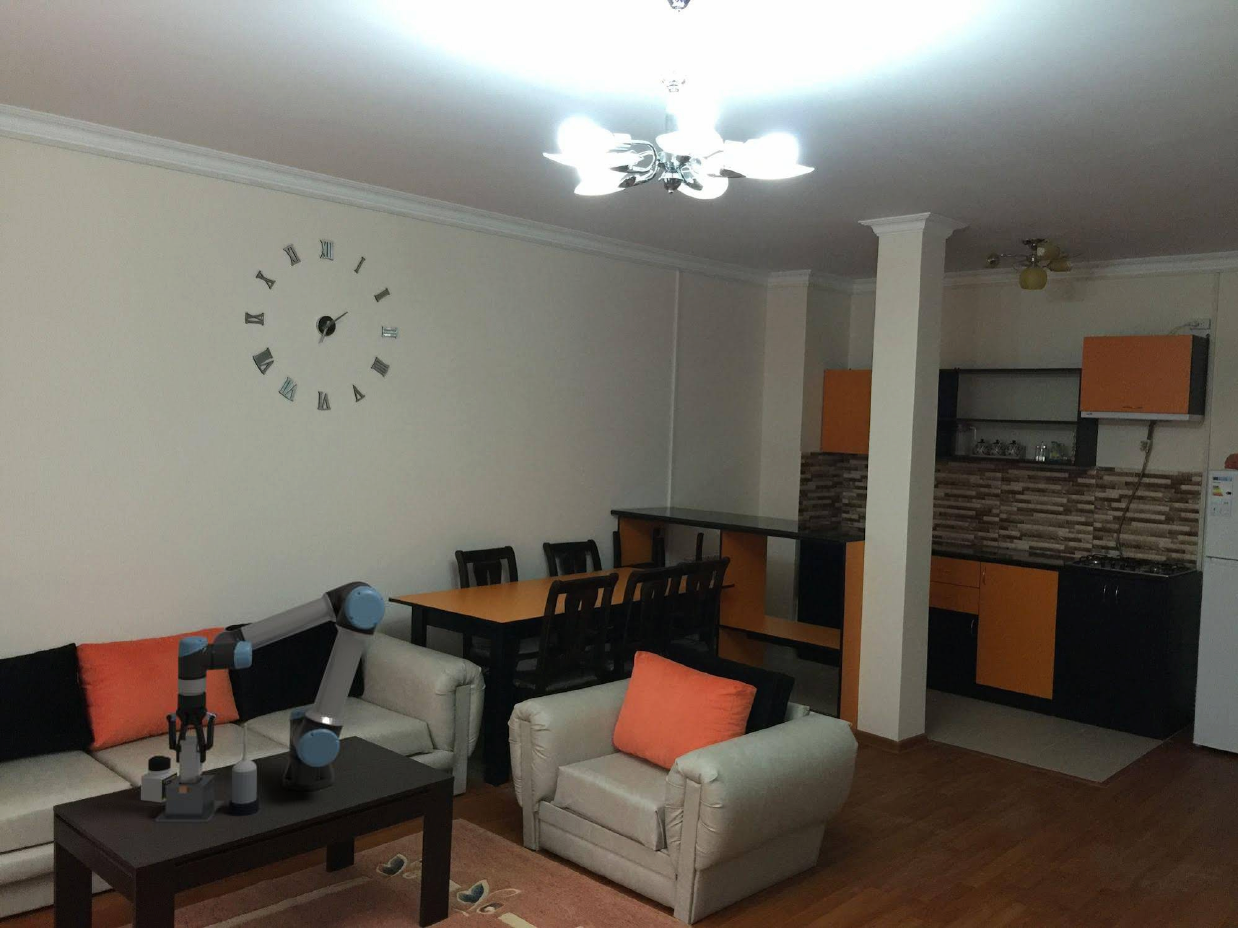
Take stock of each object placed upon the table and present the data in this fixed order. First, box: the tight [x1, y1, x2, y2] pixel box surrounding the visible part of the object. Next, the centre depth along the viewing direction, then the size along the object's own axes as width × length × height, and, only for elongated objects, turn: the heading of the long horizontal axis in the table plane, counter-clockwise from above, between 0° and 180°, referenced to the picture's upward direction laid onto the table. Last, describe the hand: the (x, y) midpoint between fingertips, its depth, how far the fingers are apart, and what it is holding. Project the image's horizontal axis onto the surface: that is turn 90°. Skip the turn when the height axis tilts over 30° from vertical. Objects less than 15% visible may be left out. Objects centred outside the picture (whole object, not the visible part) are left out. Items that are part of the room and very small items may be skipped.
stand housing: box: [154, 774, 225, 823], centre depth 291 cm, size 14×14×9 cm
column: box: [180, 735, 201, 785], centre depth 291 cm, size 5×5×21 cm
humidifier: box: [228, 723, 260, 817], centre depth 293 cm, size 8×8×25 cm
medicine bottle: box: [140, 754, 178, 803], centre depth 302 cm, size 7×7×12 cm
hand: (190, 773), depth 291 cm, fingers closed on column, 4 cm apart
